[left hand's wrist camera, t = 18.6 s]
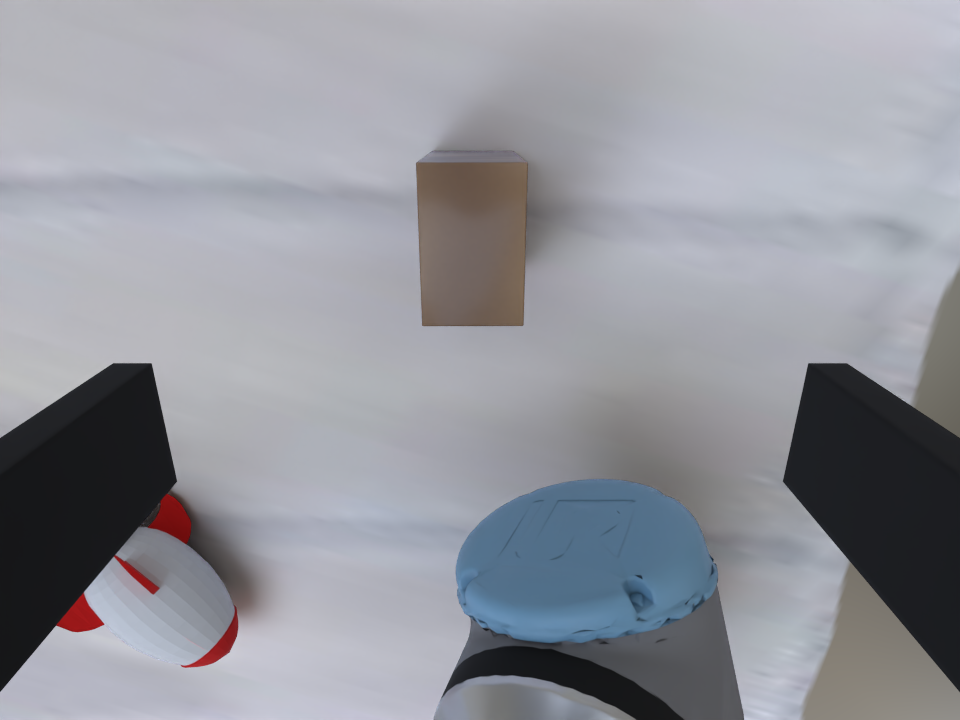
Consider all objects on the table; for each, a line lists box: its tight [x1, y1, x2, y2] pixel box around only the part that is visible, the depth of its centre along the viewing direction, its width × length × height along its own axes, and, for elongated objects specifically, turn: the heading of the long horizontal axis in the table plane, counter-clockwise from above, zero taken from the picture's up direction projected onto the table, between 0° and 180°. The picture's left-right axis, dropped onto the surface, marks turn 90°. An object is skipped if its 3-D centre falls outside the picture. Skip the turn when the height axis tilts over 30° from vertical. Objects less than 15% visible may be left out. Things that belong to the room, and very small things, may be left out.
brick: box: [416, 151, 528, 326], centre depth 34 cm, size 5×8×11 cm, turn 0°
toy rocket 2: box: [56, 494, 238, 668], centre depth 44 cm, size 9×10×20 cm
